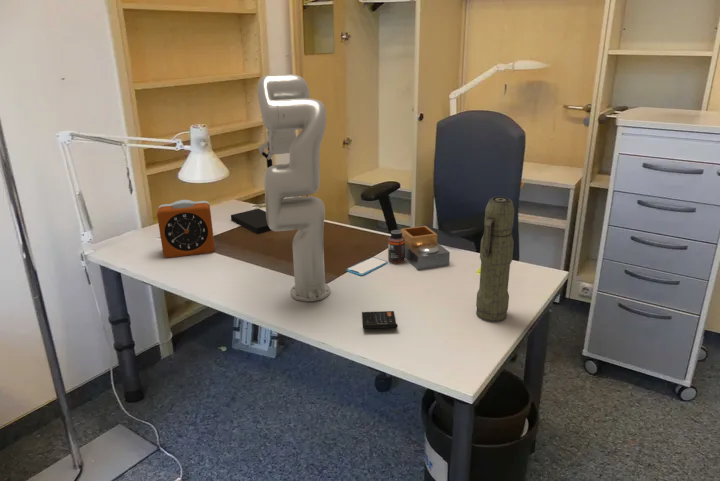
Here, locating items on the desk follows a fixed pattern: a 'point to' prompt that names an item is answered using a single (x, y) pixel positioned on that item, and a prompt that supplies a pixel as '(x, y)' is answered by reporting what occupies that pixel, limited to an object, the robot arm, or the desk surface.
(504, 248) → the thermos
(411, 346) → the desk surface
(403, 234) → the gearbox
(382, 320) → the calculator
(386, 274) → the desk surface
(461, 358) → the desk surface
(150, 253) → the desk surface
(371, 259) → the smartphone
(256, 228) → the external hard drive
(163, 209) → the alarm clock
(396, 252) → the supplement bottle
